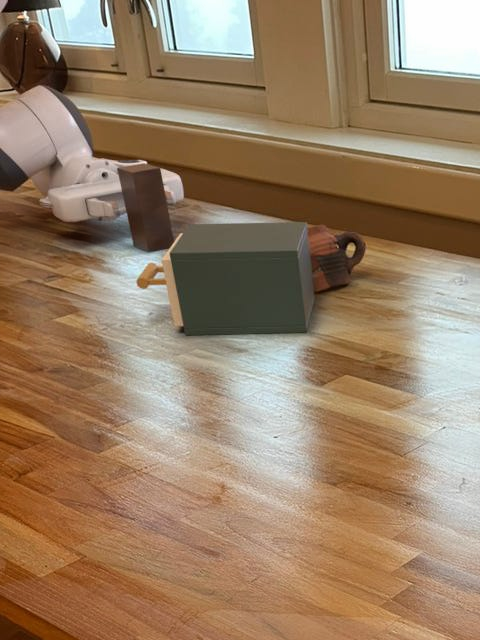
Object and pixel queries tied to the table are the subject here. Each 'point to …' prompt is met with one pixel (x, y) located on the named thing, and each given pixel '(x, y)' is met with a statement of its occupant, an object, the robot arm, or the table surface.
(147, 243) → the block
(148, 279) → the drawer
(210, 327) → the cabinet
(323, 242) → the pottery mug
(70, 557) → the table surface
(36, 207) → the table surface
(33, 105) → the robot arm
